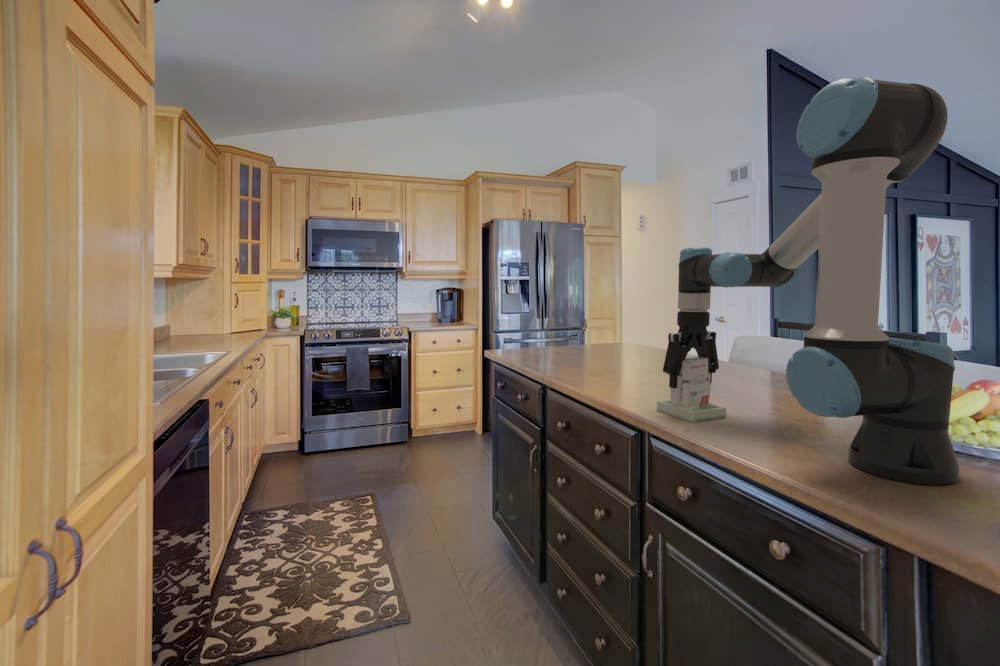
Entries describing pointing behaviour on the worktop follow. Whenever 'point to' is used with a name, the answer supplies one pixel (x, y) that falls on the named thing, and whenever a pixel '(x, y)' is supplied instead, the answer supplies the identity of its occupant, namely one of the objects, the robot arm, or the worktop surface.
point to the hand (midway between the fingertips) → (690, 398)
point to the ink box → (693, 382)
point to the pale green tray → (692, 411)
